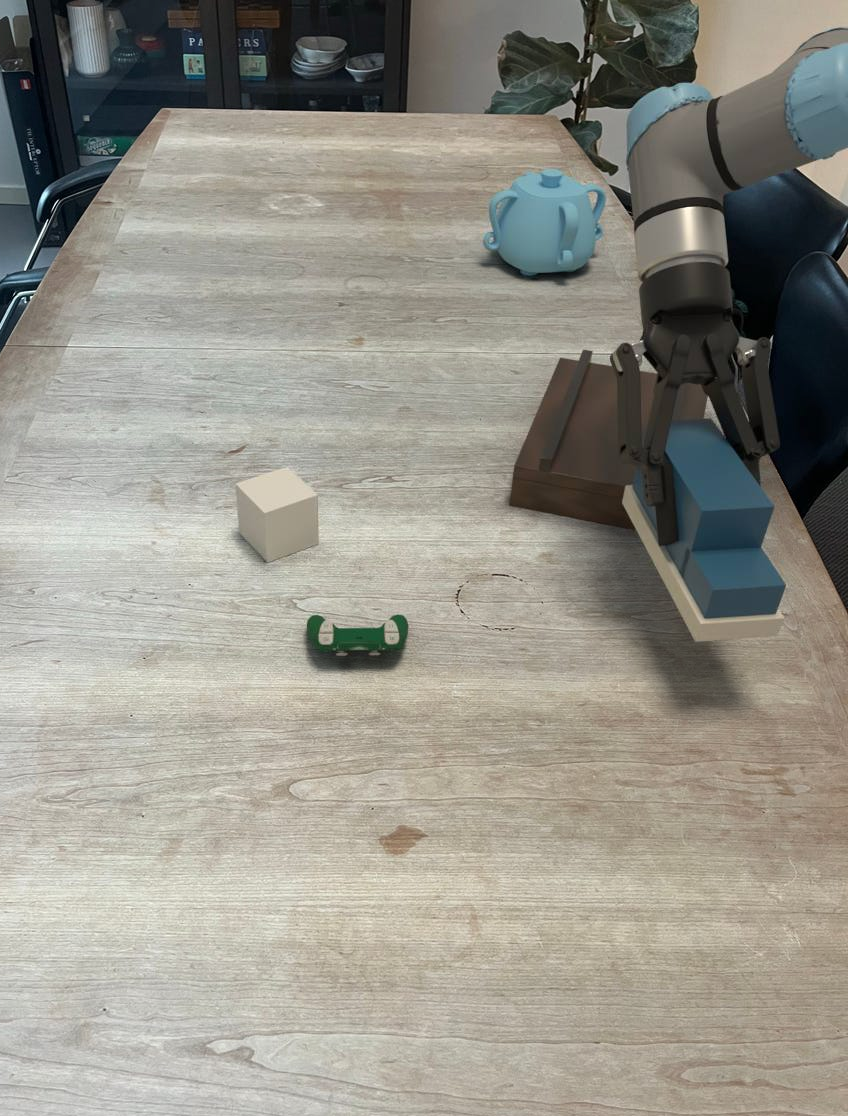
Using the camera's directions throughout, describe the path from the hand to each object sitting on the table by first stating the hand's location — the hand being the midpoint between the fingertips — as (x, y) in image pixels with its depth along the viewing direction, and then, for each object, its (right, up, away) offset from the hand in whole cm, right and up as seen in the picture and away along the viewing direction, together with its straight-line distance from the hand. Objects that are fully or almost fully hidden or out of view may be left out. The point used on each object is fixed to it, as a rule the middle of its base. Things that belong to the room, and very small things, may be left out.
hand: (706, 540), depth 88 cm
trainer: (0, -2, +3) cm, 3 cm away
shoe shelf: (-1, +12, +30) cm, 33 cm away
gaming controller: (-30, -9, +6) cm, 32 cm away
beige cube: (-38, +2, +18) cm, 42 cm away
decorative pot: (-2, +50, +73) cm, 89 cm away
